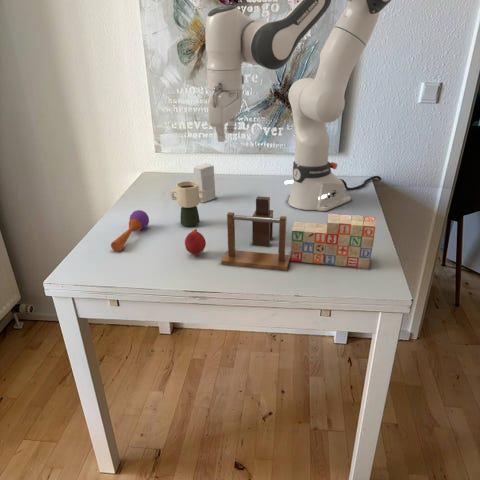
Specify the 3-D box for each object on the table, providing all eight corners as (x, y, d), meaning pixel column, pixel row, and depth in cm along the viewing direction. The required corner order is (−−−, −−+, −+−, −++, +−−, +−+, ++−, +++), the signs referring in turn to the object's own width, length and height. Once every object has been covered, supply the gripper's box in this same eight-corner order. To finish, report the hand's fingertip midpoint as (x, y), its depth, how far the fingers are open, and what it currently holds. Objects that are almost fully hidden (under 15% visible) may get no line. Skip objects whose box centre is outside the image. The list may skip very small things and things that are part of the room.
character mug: (208, 220, 160) (206, 181, 153) (205, 228, 154) (202, 188, 147) (176, 219, 161) (172, 180, 154) (171, 228, 155) (167, 187, 148)
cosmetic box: (208, 195, 179) (206, 162, 172) (215, 198, 176) (214, 165, 170) (195, 200, 175) (193, 166, 169) (203, 203, 173) (201, 169, 166)
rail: (221, 264, 134) (219, 217, 126) (228, 253, 139) (226, 208, 132) (286, 270, 130) (288, 223, 122) (290, 259, 136) (292, 213, 128)
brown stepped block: (256, 237, 148) (256, 194, 141) (272, 238, 147) (273, 195, 139) (252, 245, 144) (252, 200, 136) (269, 246, 143) (269, 202, 135)
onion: (198, 261, 135) (196, 234, 131) (181, 256, 138) (179, 230, 133) (210, 253, 139) (208, 227, 135) (194, 249, 142) (192, 223, 137)
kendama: (103, 238, 140) (131, 208, 155) (111, 256, 143) (137, 225, 158) (121, 236, 138) (148, 206, 153) (129, 254, 141) (154, 223, 156)
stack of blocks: (289, 261, 134) (291, 219, 127) (293, 251, 139) (295, 210, 132) (369, 269, 130) (376, 225, 123) (369, 258, 135) (376, 216, 128)
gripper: (225, 87, 116) (227, 147, 124) (245, 75, 133) (246, 128, 141) (200, 87, 118) (203, 146, 125) (223, 75, 134) (224, 128, 142)
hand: (226, 136), depth 133 cm, fingers open, 8 cm apart
